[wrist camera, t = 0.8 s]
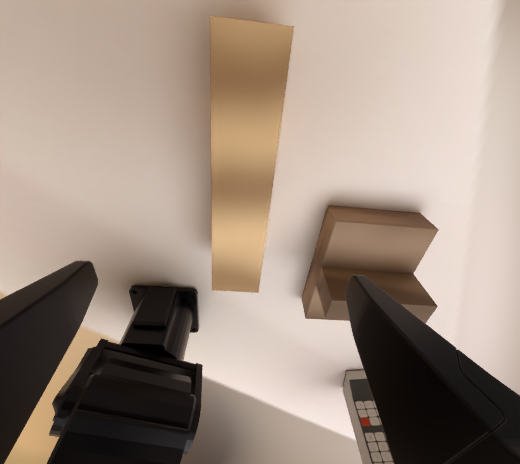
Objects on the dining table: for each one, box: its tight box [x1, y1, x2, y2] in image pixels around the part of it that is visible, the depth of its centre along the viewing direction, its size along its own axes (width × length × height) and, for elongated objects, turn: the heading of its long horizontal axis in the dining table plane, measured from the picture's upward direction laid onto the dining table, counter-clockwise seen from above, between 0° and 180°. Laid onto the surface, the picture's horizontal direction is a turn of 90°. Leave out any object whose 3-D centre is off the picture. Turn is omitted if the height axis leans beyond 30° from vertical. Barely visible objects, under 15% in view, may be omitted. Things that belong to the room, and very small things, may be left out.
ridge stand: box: [302, 206, 438, 323], centre depth 22 cm, size 11×8×6 cm
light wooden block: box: [210, 16, 294, 292], centre depth 17 cm, size 16×4×5 cm, turn 174°
